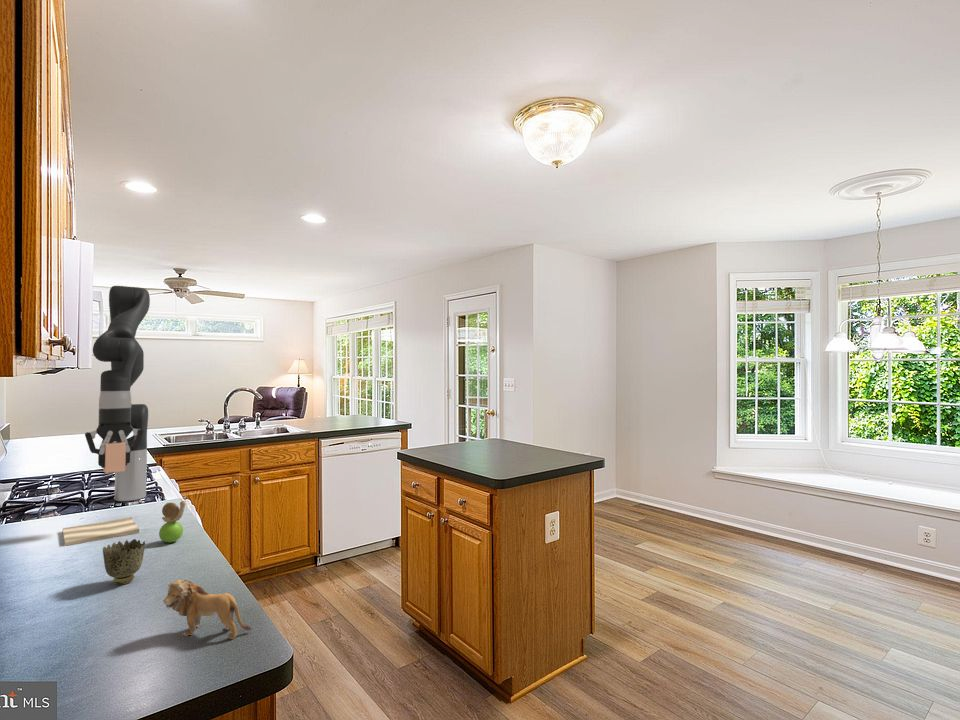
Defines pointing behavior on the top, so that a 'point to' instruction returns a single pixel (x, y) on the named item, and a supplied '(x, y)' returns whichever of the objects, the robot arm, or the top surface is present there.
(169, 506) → the snail figurine
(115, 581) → the cup
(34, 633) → the top surface
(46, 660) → the top surface
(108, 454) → the terracotta block
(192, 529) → the top surface
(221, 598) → the lion figurine
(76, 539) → the birch board
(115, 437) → the robot arm
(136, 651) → the top surface
